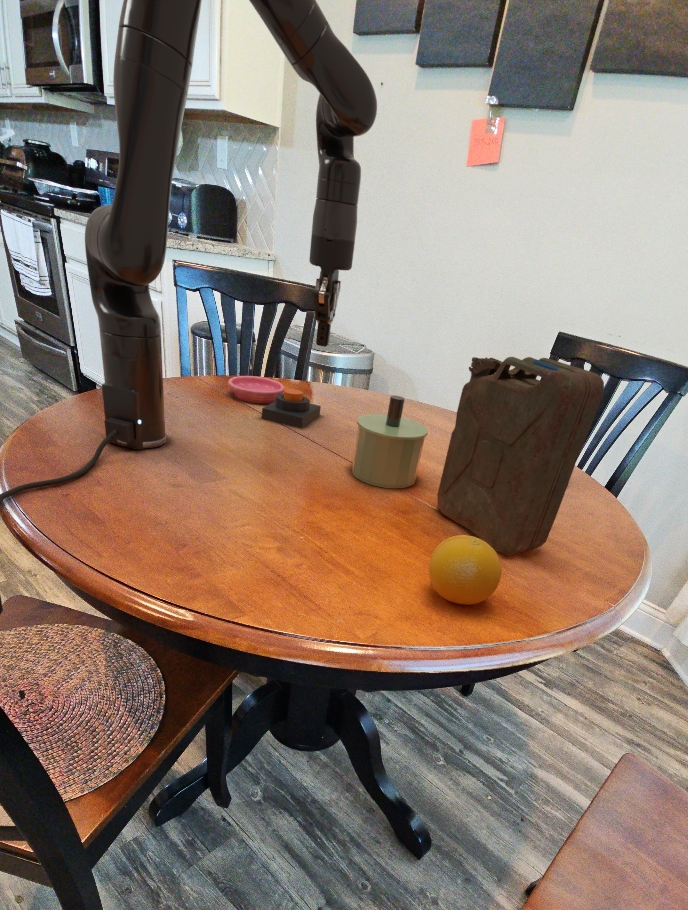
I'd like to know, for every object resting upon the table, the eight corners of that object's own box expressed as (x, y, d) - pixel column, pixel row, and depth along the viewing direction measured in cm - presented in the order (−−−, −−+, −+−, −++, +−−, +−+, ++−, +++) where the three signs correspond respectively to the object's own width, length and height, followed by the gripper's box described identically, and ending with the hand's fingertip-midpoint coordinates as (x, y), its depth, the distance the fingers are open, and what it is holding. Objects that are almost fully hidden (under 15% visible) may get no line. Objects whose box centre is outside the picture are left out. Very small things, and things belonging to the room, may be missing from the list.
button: (298, 404, 121) (298, 395, 120) (280, 399, 122) (280, 391, 121) (305, 400, 125) (305, 391, 124) (287, 396, 125) (288, 387, 124)
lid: (418, 449, 95) (425, 413, 91) (347, 432, 97) (352, 397, 93) (432, 430, 104) (439, 397, 101) (367, 415, 106) (372, 382, 103)
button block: (301, 428, 120) (303, 408, 118) (261, 418, 122) (262, 398, 120) (319, 416, 129) (321, 397, 127) (282, 407, 131) (283, 388, 128)
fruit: (477, 581, 78) (495, 527, 74) (500, 616, 72) (520, 559, 67) (415, 579, 77) (428, 523, 72) (432, 614, 70) (448, 556, 66)
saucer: (286, 408, 130) (287, 393, 129) (229, 403, 128) (229, 388, 126) (280, 392, 140) (281, 378, 138) (227, 387, 137) (227, 373, 135)
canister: (547, 553, 88) (615, 378, 74) (508, 562, 84) (571, 378, 69) (465, 502, 100) (510, 342, 86) (428, 507, 96) (467, 340, 82)
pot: (406, 493, 100) (417, 444, 95) (343, 477, 102) (350, 428, 97) (420, 473, 109) (430, 427, 104) (362, 458, 111) (369, 412, 106)
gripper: (319, 230, 106) (309, 336, 116) (304, 231, 95) (295, 347, 105) (360, 237, 105) (346, 343, 116) (349, 239, 95) (336, 355, 105)
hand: (322, 345), depth 110 cm, fingers closed
